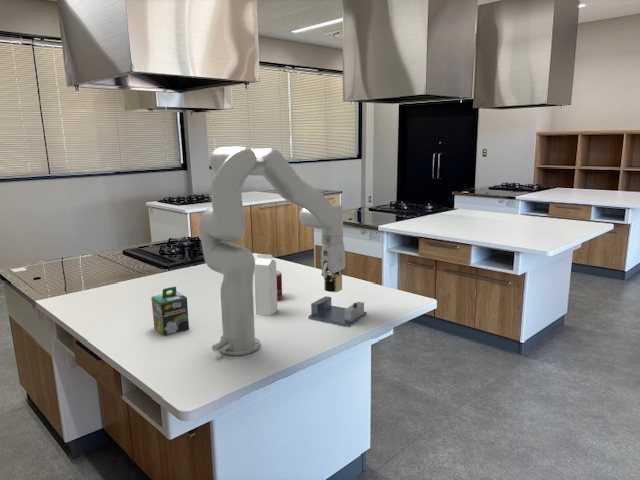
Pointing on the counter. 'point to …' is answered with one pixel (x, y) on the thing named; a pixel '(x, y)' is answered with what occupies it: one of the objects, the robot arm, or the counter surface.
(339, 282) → the brass block
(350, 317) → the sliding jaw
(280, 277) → the canned food
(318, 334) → the counter surface
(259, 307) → the milk
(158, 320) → the chalk box
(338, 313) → the vise
